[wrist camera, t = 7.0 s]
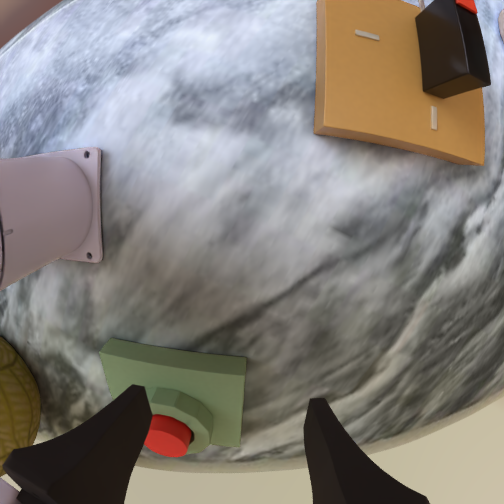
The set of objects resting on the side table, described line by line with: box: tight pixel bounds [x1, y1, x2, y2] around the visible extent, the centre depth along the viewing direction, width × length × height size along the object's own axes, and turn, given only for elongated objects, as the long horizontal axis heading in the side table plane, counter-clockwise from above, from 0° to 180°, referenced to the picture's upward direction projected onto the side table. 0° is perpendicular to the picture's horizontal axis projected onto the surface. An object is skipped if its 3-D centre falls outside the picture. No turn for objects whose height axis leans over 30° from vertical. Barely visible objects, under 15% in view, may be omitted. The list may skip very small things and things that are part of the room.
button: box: [144, 414, 192, 457], centre depth 17 cm, size 4×4×2 cm
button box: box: [99, 338, 247, 454], centre depth 19 cm, size 11×9×4 cm
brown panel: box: [314, 0, 485, 166], centre depth 13 cm, size 11×11×3 cm
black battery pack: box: [415, 0, 491, 99], centre depth 9 cm, size 6×2×5 cm, turn 176°
